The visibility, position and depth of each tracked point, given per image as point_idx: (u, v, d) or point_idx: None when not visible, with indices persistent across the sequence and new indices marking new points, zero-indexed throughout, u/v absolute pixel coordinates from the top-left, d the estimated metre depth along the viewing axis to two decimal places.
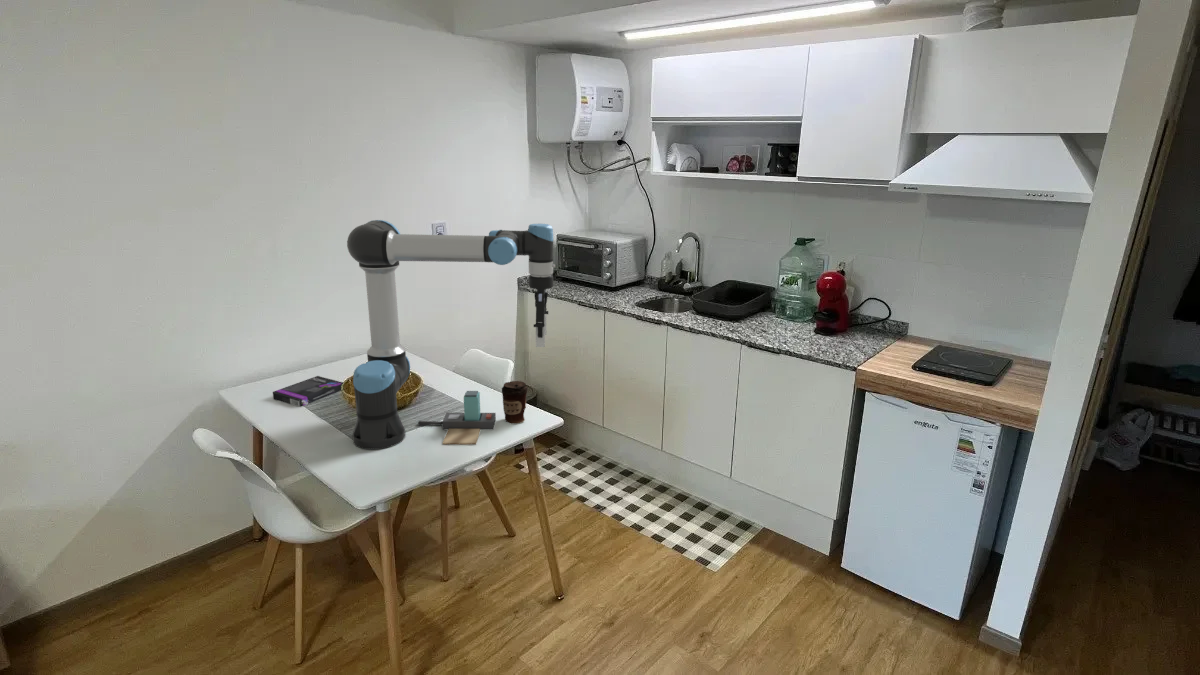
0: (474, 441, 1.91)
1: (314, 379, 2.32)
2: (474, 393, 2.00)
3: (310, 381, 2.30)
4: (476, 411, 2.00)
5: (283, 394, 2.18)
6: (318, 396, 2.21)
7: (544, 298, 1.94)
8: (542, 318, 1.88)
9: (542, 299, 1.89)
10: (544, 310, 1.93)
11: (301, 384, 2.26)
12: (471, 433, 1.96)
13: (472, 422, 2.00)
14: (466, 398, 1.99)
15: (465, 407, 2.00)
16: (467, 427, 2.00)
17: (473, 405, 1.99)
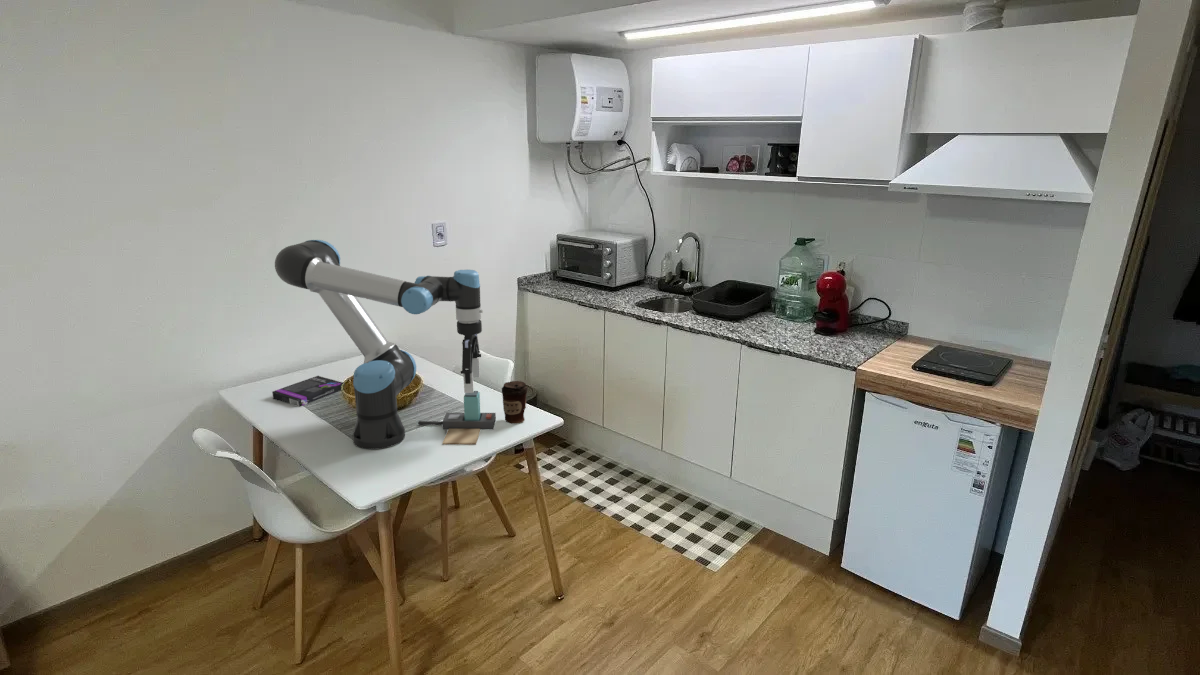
0: (474, 441, 1.91)
1: (314, 379, 2.32)
2: (474, 393, 2.00)
3: (310, 381, 2.30)
4: (476, 411, 2.00)
5: (282, 394, 2.18)
6: (317, 396, 2.21)
7: None
8: (468, 365, 1.88)
9: (468, 346, 1.89)
10: (472, 356, 1.92)
11: (301, 384, 2.27)
12: (471, 433, 1.96)
13: (472, 422, 2.00)
14: (466, 398, 1.99)
15: (465, 407, 2.00)
16: (467, 427, 2.00)
17: (473, 405, 1.99)
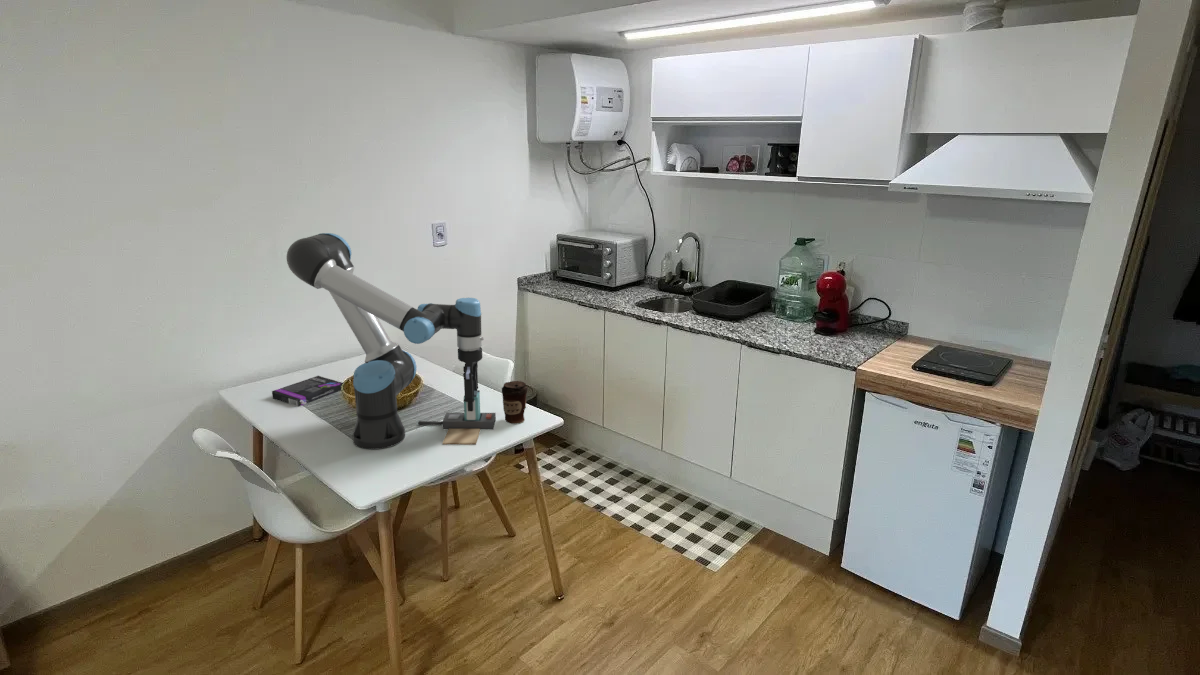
0: (474, 441, 1.91)
1: (314, 379, 2.32)
2: (474, 393, 2.00)
3: (310, 381, 2.30)
4: (476, 411, 2.00)
5: (281, 393, 2.18)
6: (316, 396, 2.21)
7: (473, 370, 1.97)
8: (471, 395, 1.94)
9: (469, 378, 1.92)
10: (473, 383, 1.97)
11: (301, 384, 2.27)
12: (471, 433, 1.96)
13: (472, 422, 2.00)
14: None
15: (465, 407, 2.00)
16: (467, 427, 2.00)
17: None
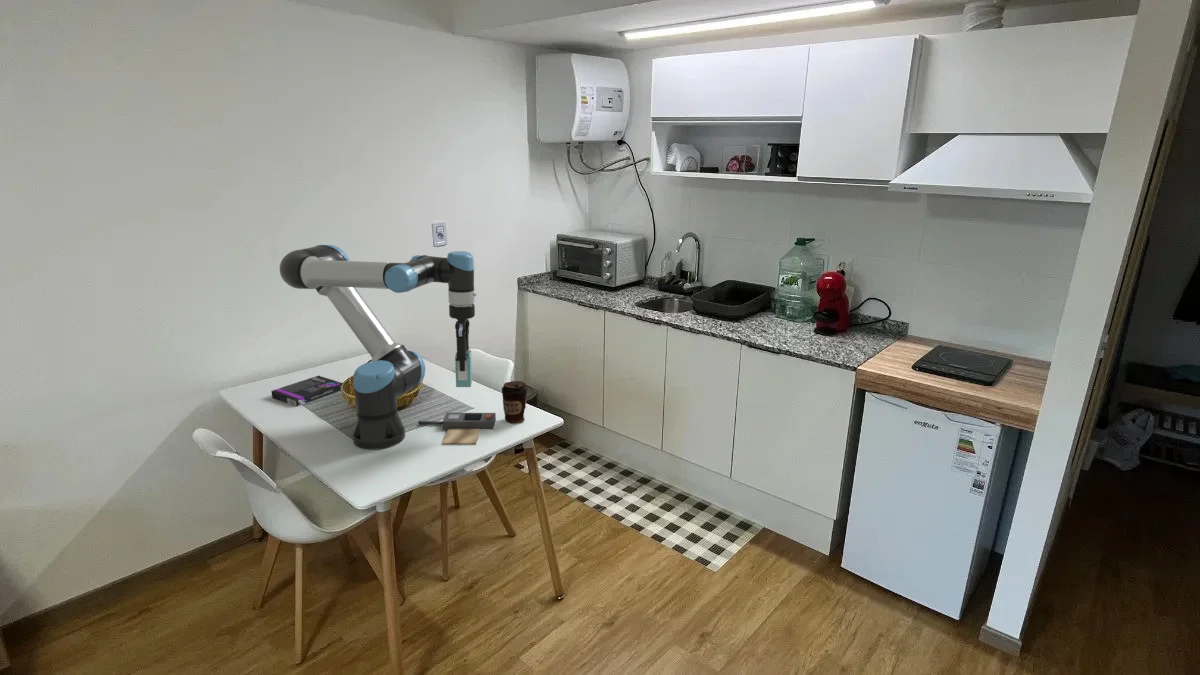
0: (474, 441, 1.91)
1: (314, 379, 2.32)
2: (466, 352, 1.91)
3: (310, 381, 2.30)
4: (468, 371, 1.92)
5: (281, 393, 2.19)
6: (315, 396, 2.21)
7: None
8: (463, 353, 1.86)
9: (462, 335, 1.84)
10: (466, 342, 1.89)
11: (301, 384, 2.27)
12: (471, 433, 1.96)
13: (472, 422, 2.00)
14: None
15: (457, 367, 1.91)
16: (467, 427, 2.00)
17: None
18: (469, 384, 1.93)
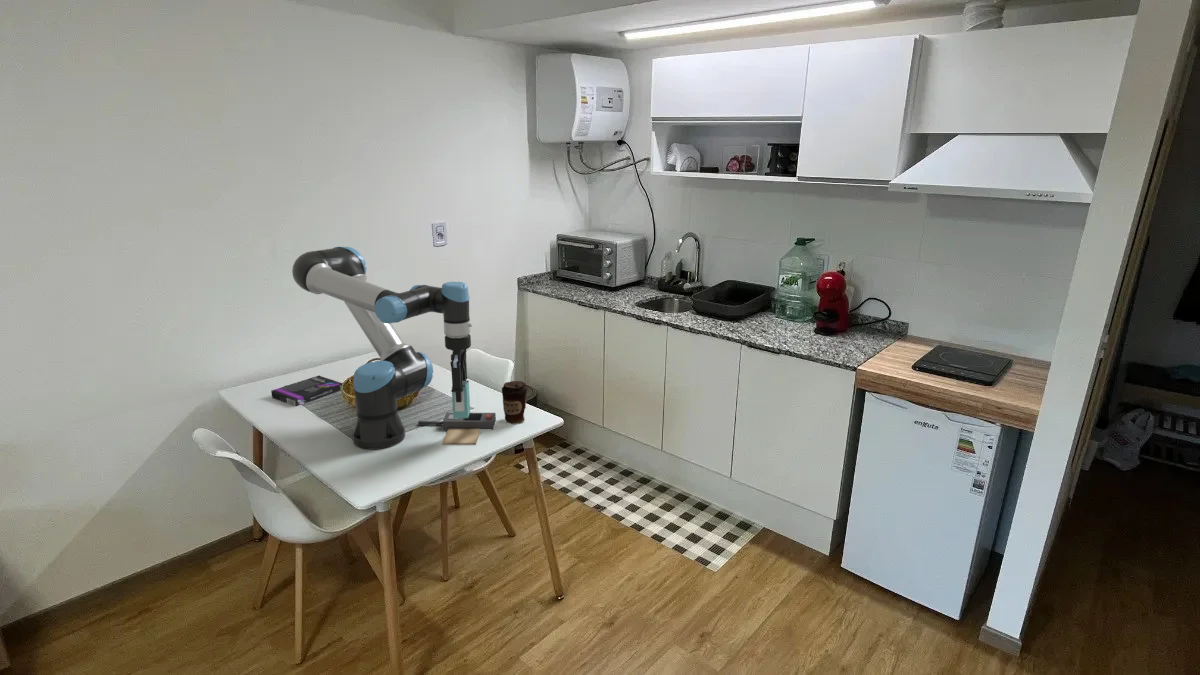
0: (474, 441, 1.91)
1: (314, 379, 2.32)
2: (463, 383, 1.89)
3: (310, 380, 2.30)
4: (465, 402, 1.89)
5: (280, 393, 2.19)
6: (315, 396, 2.21)
7: (461, 359, 1.86)
8: (459, 385, 1.84)
9: (457, 366, 1.82)
10: (462, 373, 1.86)
11: (301, 384, 2.27)
12: (471, 433, 1.96)
13: (472, 422, 2.00)
14: None
15: (453, 398, 1.89)
16: (467, 427, 2.00)
17: None
18: (466, 415, 1.91)
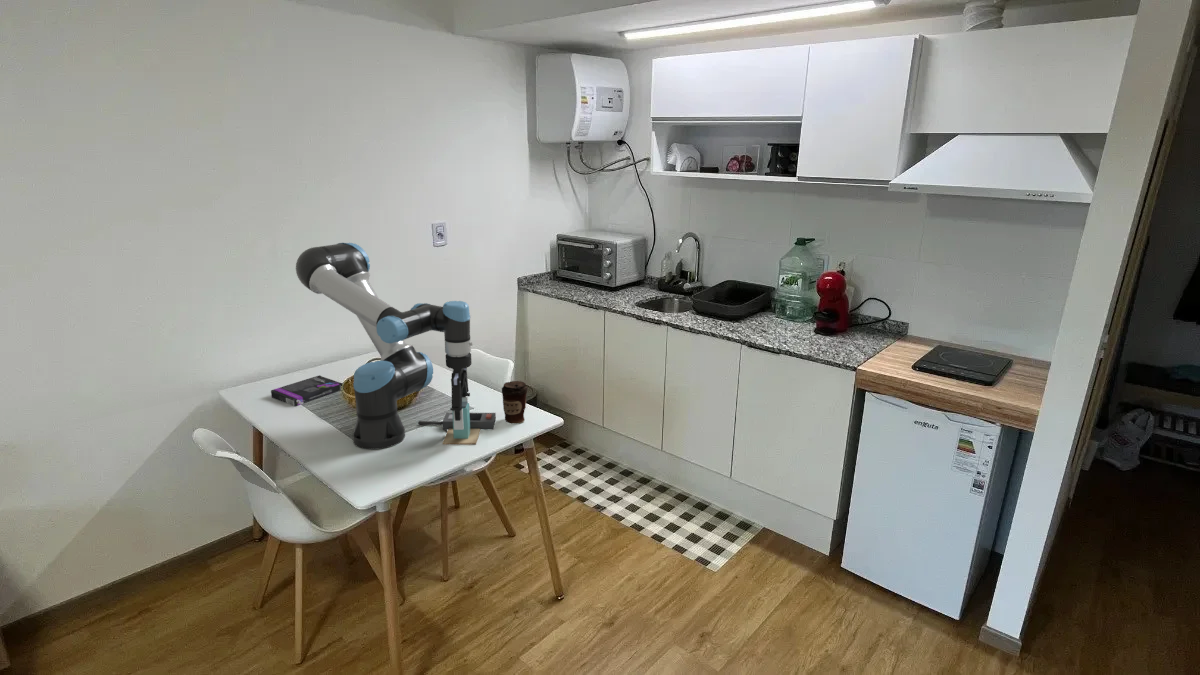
0: (474, 441, 1.91)
1: (314, 379, 2.33)
2: (463, 404, 1.91)
3: (310, 380, 2.31)
4: (465, 423, 1.91)
5: (280, 393, 2.19)
6: (314, 396, 2.21)
7: None
8: (458, 403, 1.84)
9: (457, 383, 1.83)
10: (461, 391, 1.87)
11: (300, 384, 2.27)
12: (471, 433, 1.96)
13: (472, 422, 2.00)
14: None
15: None
16: None
17: None
18: (466, 435, 1.93)
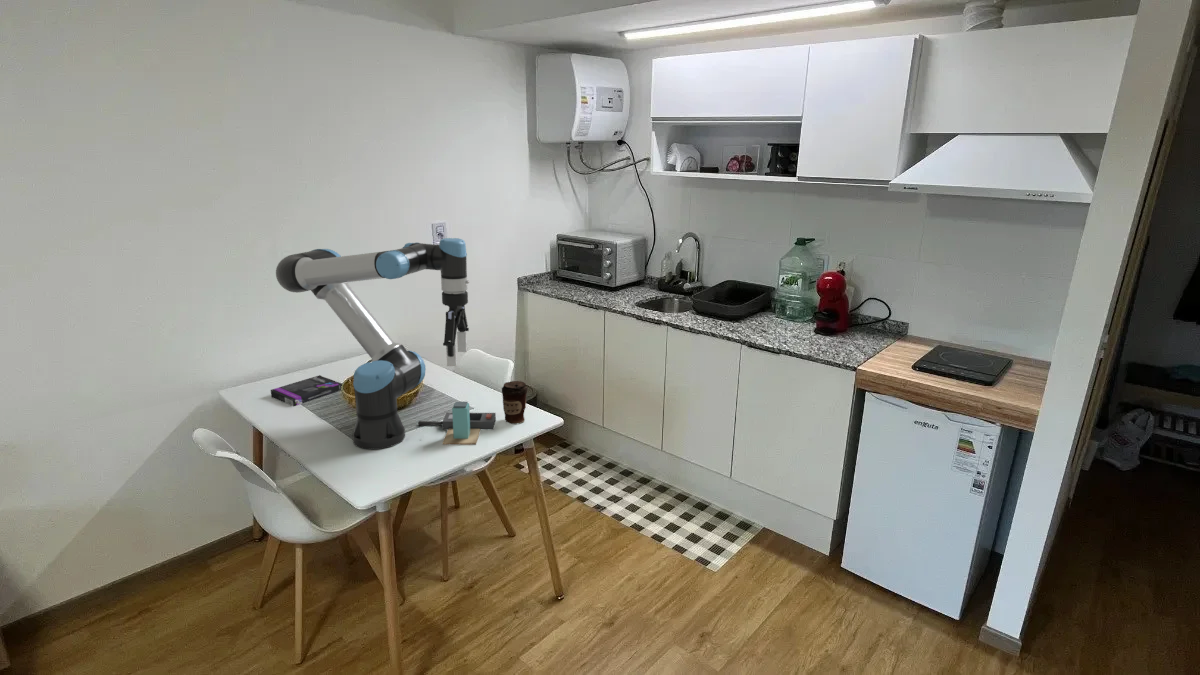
0: (474, 441, 1.91)
1: (315, 378, 2.33)
2: (463, 404, 1.91)
3: (310, 380, 2.31)
4: (465, 423, 1.91)
5: (279, 392, 2.19)
6: (313, 396, 2.20)
7: None
8: (451, 337, 1.81)
9: (452, 317, 1.82)
10: (456, 328, 1.85)
11: (300, 383, 2.27)
12: (471, 433, 1.96)
13: (472, 422, 2.00)
14: (455, 409, 1.90)
15: (454, 419, 1.91)
16: None
17: (462, 417, 1.91)
18: (466, 435, 1.93)
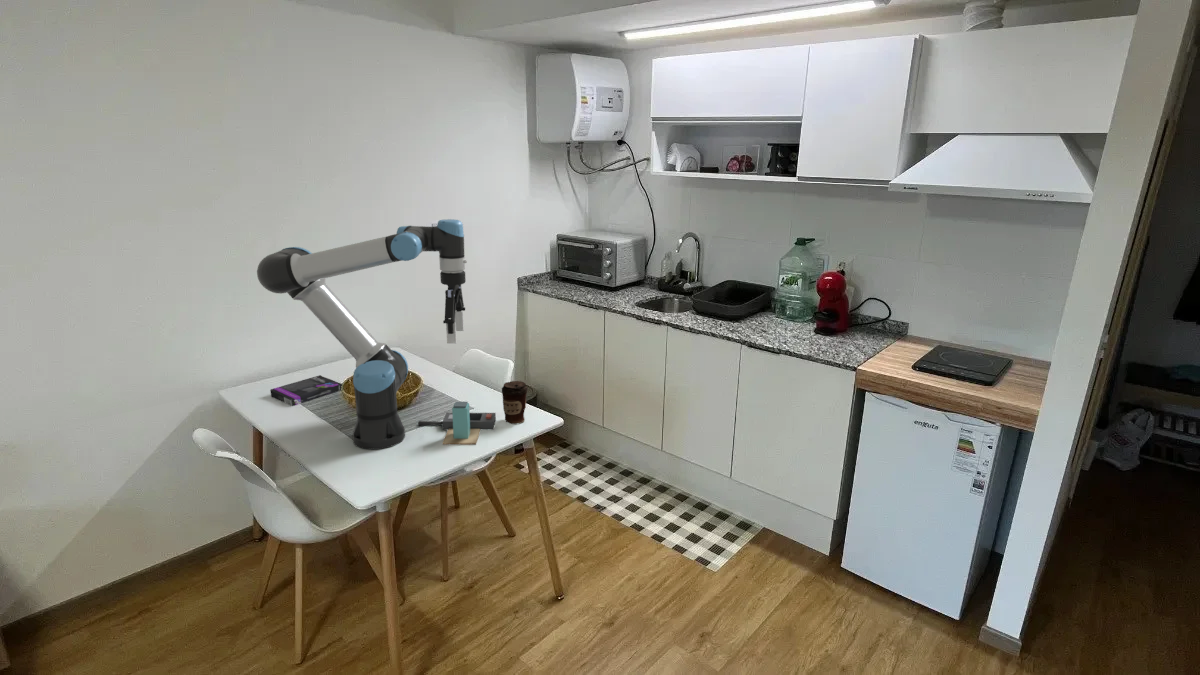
0: (474, 441, 1.91)
1: (315, 378, 2.33)
2: (463, 404, 1.91)
3: (310, 380, 2.31)
4: (465, 423, 1.91)
5: (278, 392, 2.19)
6: (312, 396, 2.20)
7: None
8: (451, 314, 1.87)
9: (451, 295, 1.88)
10: (455, 306, 1.92)
11: (300, 383, 2.27)
12: (471, 433, 1.96)
13: (472, 422, 2.00)
14: (455, 409, 1.90)
15: (454, 419, 1.91)
16: None
17: (462, 417, 1.91)
18: (466, 435, 1.93)
